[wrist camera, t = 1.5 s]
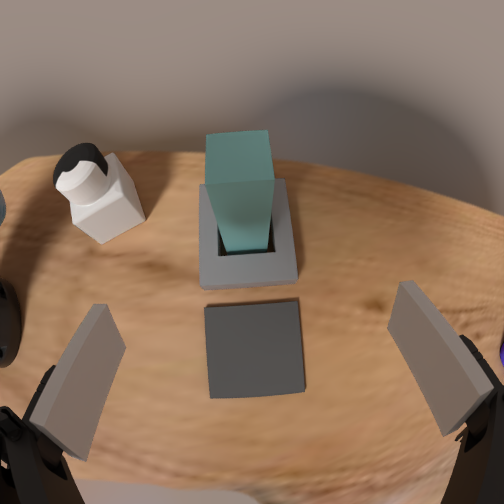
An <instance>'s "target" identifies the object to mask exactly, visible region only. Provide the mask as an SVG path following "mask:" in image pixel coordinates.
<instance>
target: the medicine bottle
mask: <svg viewBox="0 0 504 504" xmlns="http://www.w3.org/2000/svg"><path fill="white" fill-rule="evenodd" d="M53 183H54V186H55V188H56V189H57V190H58V191H59V192H61V193H62V194H63V195H64V196H65V197H66V198H67V199H68V200H69V201H70V207H71V215H72V222H73V224H74V225H75V226H76V227H78V228H79V229H80V230H82V231H83V232H84V233H86V234H87V235H89V236H90V237H91V238H93V239H94V240H96V241H97V242H98V243H100V244H104V243H106V242H108V241H109V240H111V239H113V238H115V237H117V236H118V235H120V234H122V233H124V232H126V231H127V230H129V229H131V228H133V227H135V226H137V225H139V224H141V223H143V222H144V221H145V215H144V213H143V210H142V207H141V204H140V200H139V197H138V194H137V191H136V188H135V185H134V181H133V180H132V178H131V177H130V176H129V174H128V173H127V171H126V170H125V168H124V167H123V165H122V164H121V162H120V161H119V159H118V158H117V156H116V155H115V154H114V153H110V154H109V155H107V156H105V157H103V155H102V154H101V153H100V151H99V150H98V148H97V147H96V146H95V145H94V144H91V143H81V144H78V145H76V146H74V147H72V148H71V149H69V150H68V151H67V152H66V153H65V154H64V155H63V156H62V157H61V159H60V160H59V162H58V163H57V165H56V167H55V170H54V174H53Z"/></svg>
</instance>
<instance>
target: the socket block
mask: <svg viewBox="0 0 504 504" xmlns="http://www.w3.org/2000/svg"><path fill="white" fill-rule="evenodd" d="M270 221H271V230H272V240H273V250H274V252H273V253H259V254H245V255H231V256H221V248H220V230H219V227H218V224H217V221H216V218H215V215H214V212H213V209H212V206H211V202H210V199H209V196H208V193H207V190H206V187H205V184H200V192H199V271H200V287H201V288H202V289H204V290H218V289H234V288H249V287H262V286H275V285H287V284H295V283H296V282H297V280H298V272H297V264H296V255H295V247H294V240H293V232H292V225H291V217H290V210H289V203H288V196H287V190H286V183H285V178H278V179H275V183H274V192H273V201H272V210H271V220H270Z"/></svg>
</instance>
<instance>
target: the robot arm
mask: <svg viewBox="0 0 504 504" xmlns="http://www.w3.org/2000/svg"><path fill="white" fill-rule="evenodd" d="M5 215H6V203H5V200H4V197H3V194H2V192H1V190H0V226H1V224H2V222H3V220H4V218H5ZM387 329H388V330H389V332H390V334H391V336H392V337H393V339H394V341H395V343H396V344H397V346H398V348H399V350H400V351H401V353H402V355H403V357H404V359H405V360H406V362H407V364H408V366H409V368H410V370H411V372H412V373H413V375H414V377H415V379H416V381H417V383H418V385H419V387H420V389H421V391H422V393H423V395H424V397H425V399H426V401H427V403H428V405H429V407H430V409H431V411H432V413H433V416H434V418H435V420H436V422H437V424H438V426H439V429H440V431H441V433H442V435H443V437H444V436H446V435H448V434H450V433H452V432H454V431H456V430H458V429H459V428H460V426H461V425H462V424H463V423H464V422H466V424H467V427H466V428H465V429H464V430H463V431H462V432H461V433H460V434H459V435H458V436H457V437H456V439H455V441H458V440H459V439H460V438H461V437H462V436H463V437H462V439H461V440H460V442H461V445H460V449H459V453H458V456H457V459H456V463H455V466H454V469H453V472H452V475H451V478H450V481H449V484H448V486H447V489H446V491H445V494H444V496H443V499H442V501H441V504H504V386H503V385H502V383H501V382H500V381H499V379H498V378H497V376H496V375H495V373H494V372H493V370H492V369H491V367H490V366H489V364H488V363H487V361H486V360H485V359H483V356H482V354H481V353H480V352H478V349H477V348H476V346H475V345H474V344H473V342H472V341H471V340H469V339H468V338H467V337H465V336H464V335H460V336H458V335H457V333H456V332H455V331H454V329H453V328H452V327H451V325H450V324H449V323H448V322H447V320H446V319H445V318H444V317H443V315H442V314H441V313H440V312H439V310H438V309H437V308H436V307H435V305H434V304H433V303H432V302H431V301H430V300H429V298H428V297H427V296H426V295H425V294H424V292H423V291H422V290H421V289H420V288H419V287H418V286H417V284H416V283H415V282H414V281H413V280H411V281H404V282H400V283H399V287H398V291H397V295H396V299H395V303H394V306H393V310H392V314H391V317H390V320H389V324H388V327H387ZM20 334H21V316H20V308H19V303H18V299H17V295H16V293H15V290H14V288H13V287H12V285H11V284H10V283H9V282H8V281H7V280H5V279H3V278H1V277H0V368H4V367H7V366H9V365H10V364H11V363H12V361H13V360H14V358H15V356H16V354H17V351H18V347H19V342H20ZM125 349H126V346H125V344H124V342H123V340H122V337H121V335H120V333H119V331H118V329H117V327H116V324H115V322H114V320H113V317H112V315H111V313H110V310H109V308H108V305H107V304H93V306H92V307H91V309H90V310H89V312H88V314H87V315H86V317H85V318H84V320H83V321H82V323H81V325H80V326H79V328H78V329H77V331H76V333H75V334H74V336H73V337H72V339H71V341H70V343H69V344H68V346H67V348H66V349H65V351H64V353H63V355H62V356H61V358H60V360H59V362H58V363H57V365H53V366H52V367H51V368H50V369H49V370H48V371H47V372H46V373H45V374H44V376H43V378H42V380H41V382H40V383H41V384H39V386H38V388H37V392H35V393H34V395H33V397H32V399H31V401H30V404H29V406H28V408H27V410H26V412H25V414H24V416H23V418H22V420H21V419H20V418H19V417H18V416H17V415H16V414H15V413H14V412H13V411H12V410H11V409H10V408H9V407H6V406H2V407H0V504H85V503H84V501H83V499H82V497H81V495H80V492H79V490H78V488H77V486H76V484H75V482H74V479H73V477H72V475H71V472H70V470H69V467H68V465H67V462H66V460H65V458H64V456H63V455H62V453H63V451H65V452H66V453H67V454H68V455H70V456H71V457H73V458H76V459H79V460H82V461H85V462H86V461H87V458H88V454H89V451H90V447H91V444H92V441H93V437H94V434H95V431H96V428H97V425H98V422H99V419H100V416H101V413H102V410H103V407H104V404H105V401H106V398H107V396H108V393H109V390H110V387H111V385H112V382H113V379H114V377H115V374H116V372H117V369H118V366H119V364H120V361H121V359H122V356H123V354H124V352H125ZM1 460H2V461H4V462H5V463H7V469H6V468H4V467H3V466H1Z"/></svg>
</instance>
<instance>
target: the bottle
mask: <svg viewBox="0 0 504 504" xmlns="http://www.w3.org/2000/svg"><path fill="white" fill-rule="evenodd" d="M500 357H501V361H502V364H503V366H504V343H503V345H502V348H501V352H500Z"/></svg>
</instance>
